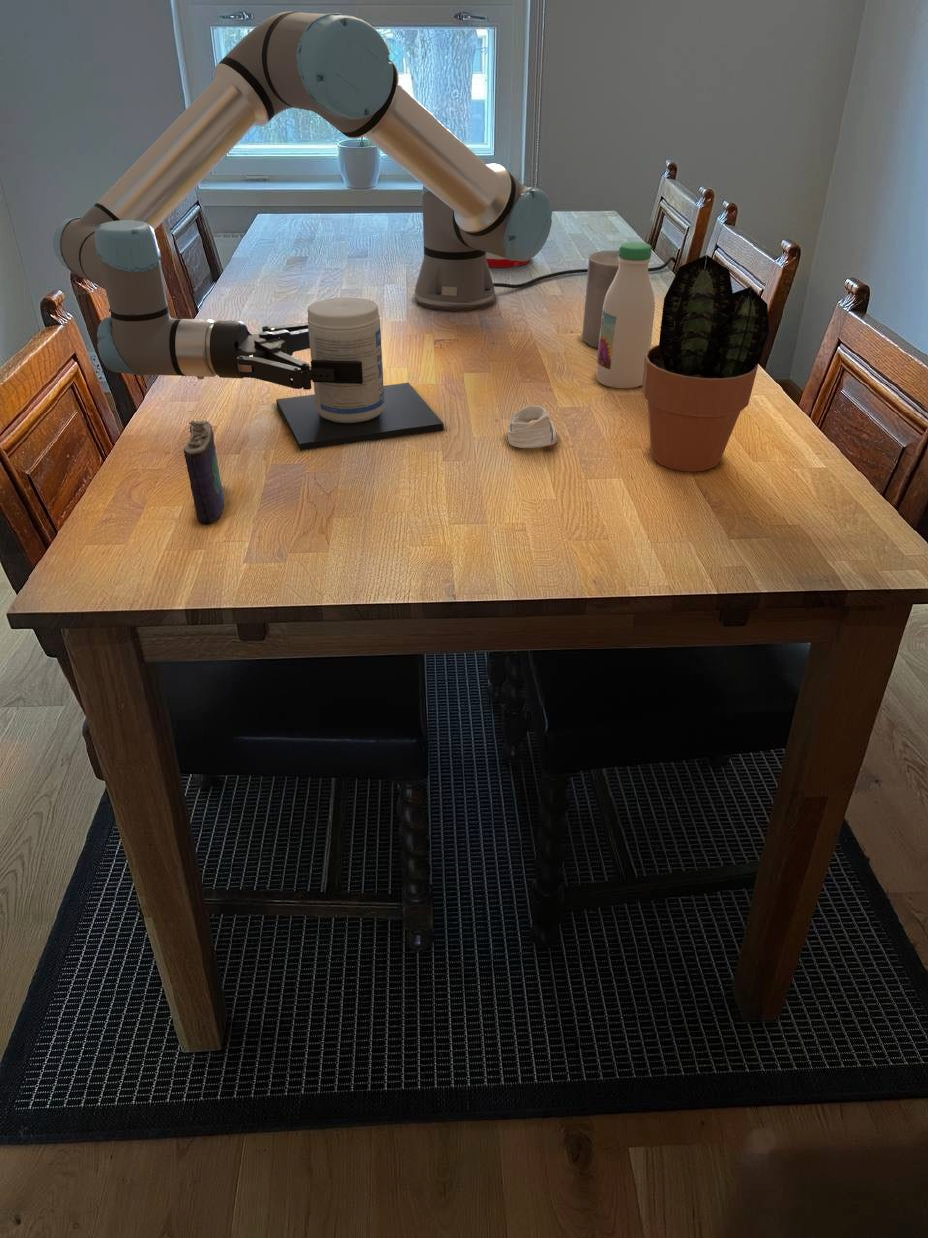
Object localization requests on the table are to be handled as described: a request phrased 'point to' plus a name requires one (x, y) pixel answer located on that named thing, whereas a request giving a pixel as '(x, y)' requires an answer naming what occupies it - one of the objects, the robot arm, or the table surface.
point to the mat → (396, 419)
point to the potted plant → (702, 365)
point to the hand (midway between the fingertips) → (371, 354)
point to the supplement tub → (348, 356)
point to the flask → (204, 473)
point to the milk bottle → (627, 320)
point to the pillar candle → (597, 292)
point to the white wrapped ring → (531, 428)
